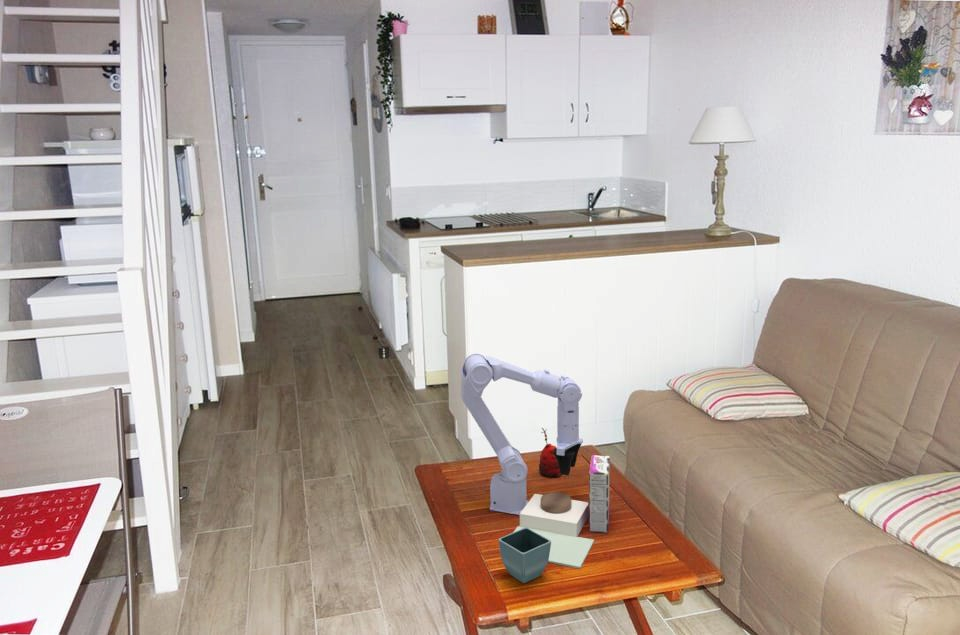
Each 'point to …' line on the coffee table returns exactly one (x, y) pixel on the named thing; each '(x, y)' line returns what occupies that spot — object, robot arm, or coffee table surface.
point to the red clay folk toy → (548, 460)
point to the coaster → (555, 503)
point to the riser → (555, 517)
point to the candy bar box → (599, 493)
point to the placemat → (566, 548)
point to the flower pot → (524, 554)
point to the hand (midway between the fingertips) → (567, 470)
